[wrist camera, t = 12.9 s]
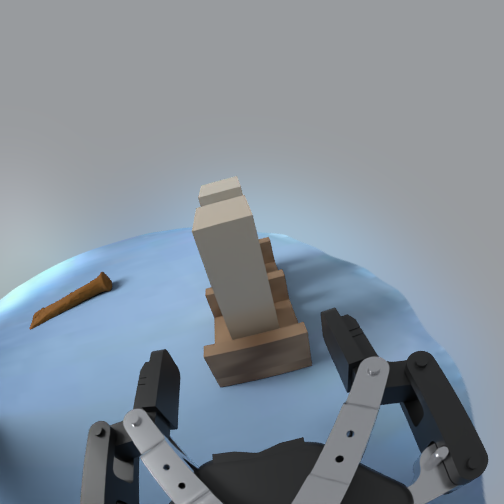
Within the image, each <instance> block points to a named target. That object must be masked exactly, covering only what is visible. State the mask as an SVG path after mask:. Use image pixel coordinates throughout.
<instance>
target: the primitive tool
mask: <svg viewBox="0 0 504 504" xmlns="http://www.w3.org/2000/svg"><path fill="white" fill-rule="evenodd" d="M111 289H112V281H111V280H110V278H109V277H108V276H107V275H106V274H105V273H104V272H101V273H100V275H99V276H98V277H97V278H96V279H94V280H92V281H91V282H90V283H88V284H86V285H84V286H83V287H81V288H79V289H77V290H75V291H74V292H71V293H70V294H69V295H67V296H65V297H64V298H62V299H60V300H59V301H57V302H55V303H53V304H51V305H49V306H47V307H46V308H42V309H41V310H39V311H38V312H36V313H35V314H34V316H33V320H32V323H31V326H30V329H33V328H35V327H37V326H39V325H40V324H42V323H44V322H46V321H47V320H49V319H51V318H53V317H55V316H57V315H58V314H60V313H62V312H64V311H66V310H68V309H70V308H72V307H74V306H76V305H78V304H80V303H81V302H83V301H85V300H87V299H89V298H91V297H93V296H95V295H97V294H99V293H101V292H105V291H111Z"/></svg>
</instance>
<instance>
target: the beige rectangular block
mask: <svg viewBox="0 0 504 504" xmlns="http://www.w3.org/2000/svg"><path fill="white" fill-rule="evenodd" d="M192 233H193V236H194V239H195V242H196V245H197V248H198V250H199V253H200V256H201V259H202V262H203V264H204V267H205V270H206V273H207V276H208V278H209V281H210V284H211V286H212V289H213V292H214V294H215V297H216V300H217V302H218V305H219V308H220V310H221V313H222V315H223V318H224V321H225V323H226V326H227V328H228V331H229V333H230V336H231V338H232V340H235V339H239V338H243V337H248V336H252V335H256V334H260V333H264V332H268V331H272V330H276V329H279V328H280V327H279V323H278V319H277V315H276V310H275V306H274V302H273V298H272V293H271V289H270V285H269V281H268V277H267V273H266V268H265V264H264V260H263V256H262V252H261V248H260V243H259V239H258V235H257V231H256V227H255V223H254V219H253V215H252V212H251V210H250V207H249V205H248V203H247V200H246V198H245V196H244V195H243V196H239V197H235V198H231V199H228V200H224V201H220V202H217V203H213V204H209V205H206V206H202V207H199V208H196V213H195V218H194V223H193V228H192Z"/></svg>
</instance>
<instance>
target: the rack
mask: <svg viewBox="0 0 504 504" xmlns="http://www.w3.org/2000/svg"><path fill="white" fill-rule="evenodd" d="M259 243H260V248H261V252H262V256H263V260H264V264H265V268H266V273H267V277H268V281H269V285H270V289H271V293H272V298H273V302H274V306H275V310H276V315H277V319H278V323H279V327H280V328H279V329H276V330H272V331H268V332H264V333H260V334H256V335H252V336H248V337H243V338H239V339H235V340H232V338H231V336H230V333H229V331H228V328H227V326H226V323H225V321H224V318H223V315H222V313H221V310H220V308H219V305H218V302H217V300H216V297H215V294H214V292H213V289H212V287H211V288H207V289H206V294H205V296H206V298H207V301H208V303H209V306H210V308H211V311H212V313H213V316H214V320H215V344H212V345H207V346H204V359H205V361H206V362H207V364H208V366H209V368H210V370H211V372H212V373H213V375H214V377H215V379H216V380H217V382H218V384H219V386H220V387H224V386H229V385H235V384H240V383H244V382H249V381H254V380H258V379H262V378H267V377H271V376H275V375H279V374H283V373H287V372H290V371H294V370H298V369H301V368H305V367H308V366H312V361H311V353H310V346H309V338H308V332H307V329H306V327H305V324H304V322H301V323H298V321H297V318H296V316H295V313H294V310H293V308H292V305H291V302H290V300H289V295H288V290H287V285H286V280H285V275H284V273H283V270H282V269H281V270H278V269H277V266H276V263H275V260H274V256H273V251H272V247H271V242H270V239H269V237H267V238H263V239H259Z"/></svg>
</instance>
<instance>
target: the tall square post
mask: <svg viewBox="0 0 504 504" xmlns="http://www.w3.org/2000/svg"><path fill="white" fill-rule="evenodd" d="M239 196H243V194H242V190H241V186H240V183H239V180H238V177H237V176H236V177H232V178H228V179H224V180H220V181H217V182H213V183H210V184H206V185H202V186H201V189H200V193H199V197H198V198H199V202H200V205H201V207H202V206H206V205H209V204H213V203H217V202H220V201H224V200H228V199H231V198H235V197H239Z"/></svg>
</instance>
